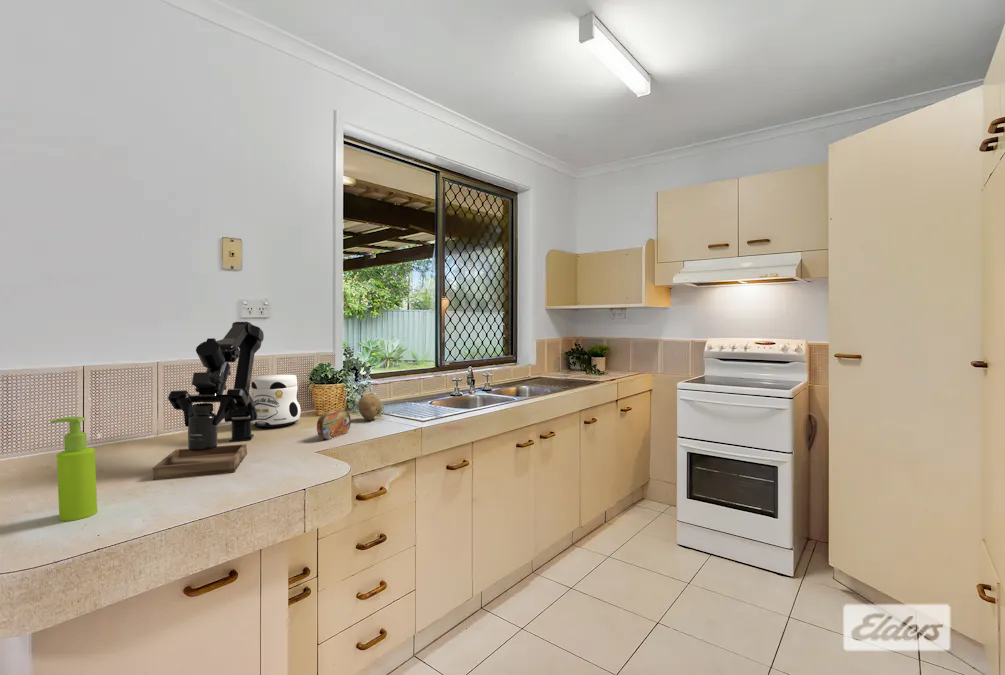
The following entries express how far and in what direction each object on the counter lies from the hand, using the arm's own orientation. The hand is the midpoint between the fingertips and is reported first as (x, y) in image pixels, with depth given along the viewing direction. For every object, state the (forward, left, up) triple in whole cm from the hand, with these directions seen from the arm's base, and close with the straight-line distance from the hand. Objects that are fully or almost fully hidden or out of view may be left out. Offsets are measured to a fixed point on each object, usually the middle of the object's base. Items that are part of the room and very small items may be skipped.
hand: (200, 425), depth 133 cm
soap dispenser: (+29, -16, -12) cm, 35 cm away
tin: (-25, +33, -12) cm, 43 cm away
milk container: (-51, +12, -12) cm, 54 cm away
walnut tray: (-1, 0, -11) cm, 11 cm away
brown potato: (-48, +46, -12) cm, 68 cm away
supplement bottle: (-1, 0, -7) cm, 7 cm away
